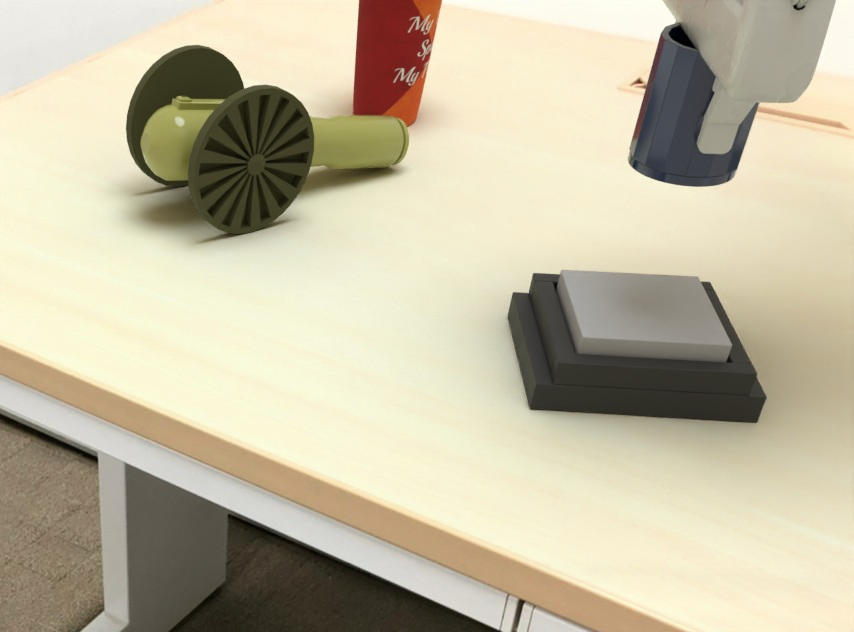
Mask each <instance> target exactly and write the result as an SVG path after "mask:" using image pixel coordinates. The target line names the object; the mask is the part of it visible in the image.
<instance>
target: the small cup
mask: <svg viewBox="0 0 854 632" xmlns="http://www.w3.org/2000/svg"><path fill="white" fill-rule="evenodd" d="M715 77H716V76H715V75H714V74H713V72H712V71H711V69H710V68H709V66H708V65H707V64H706V62H705V61H704V59H703V58H702V56H701V55H700V52H699V50H697V49H696V48H695V46H694V45H693V43H692V42H691V41H690V39H689V38H688V36H687V35H686V33H685V32H684V31H683V29H682V28H681V25H680V23H679V22H678V23H675V22H674V23H672V24H669V25H666V26H665V27H664V28H663V29H662V31H661V32H660V34H659V38H658V42H657V45H656V49H655V54H654V57H653V60H652V64H651V68H650V71H649V75H648V78H647V83H646V86H645V91H644V93H643V97H642V99H641V100H642V101H641V104H640V108H639V112H638V115H637V119H636V122H635V126H634V130H633V134H632V138H631V141H630V145H629V152H628V155H627V162H628V165H629V166H630V167H631V168H632V169H633V170H634V171H636V172H637V173H639V174H640V175H642V176H644V177H647V178H649V179H652V180H655V181H658V182H660V183H666V184H670V185H673V186H674V185H675V186H681V187H690V188H691V187H692V188H695V187H696V188H705V187H715V186H720V185H724V184H727V183H728V182H730V181H732V180H733V179H734V178H735V177H736V175H737V173H738V172H737V171H738V169H739V166H740V164H741V161H742V158H743V155H744V152H745V149H746V146H747V143H748V140H749V137H750V135H751V132H752V128H753V125H754V122H755V119H756V117H757V113H758V111H759V108H760V104H761V103H759V102H756V104H755V105H754V106H753V108H752V109H751V110H750V112H749V113H748V114H747V116H746V117H745V118H744V120H743V121H742V123H741V124H739V127H738V130H737V133H736V136H735V139H734V142H733V145H732V148H731V149H730V150H729V151H728V152H727V153H725V154H705V153H702V152H701V151H699V149H698V147H697V145H696V143H695V141H694V138H693V136H694V132H695V130H696V128H697V122H698V119H699V116H700V113H706V111H707V109H708V106H709V104H710V102H711V100H712V98H713V95H714V93H715V92H714V91H713V90H712V87H713V84H714V81H715Z"/></svg>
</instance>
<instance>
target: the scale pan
mask: <svg viewBox="0 0 854 632" xmlns="http://www.w3.org/2000/svg"><path fill="white" fill-rule="evenodd" d="M559 274H560V277H559V281H558V285H557V289H556V294H557V297H558V301H559V304H560V307H561V310H562V314H563V317H564V320H565V323H566V326H567V330H568V333H569V336H570V339H571V343H572V346H573V349H574V352H575V354H585V355H602V356H620V357H638V358H655V359H673V360H691V361H708V362H726V361H727V358H728V356H729V353H730V350H731V347H732V344H731V342H730V340H729V338H728V336H727V334H726V332H725V330H724V328H723V326H722V324H721V322H720V320H719V318H718V316H717V314H716V312H715V310H714V308H713V306H712V304H711V301H710V299H709V297H708V295H707V293H706V291H705V289H704V287H703V285H702V283H701V279H700V278H699V276H696V275H677V274H676V275H675V274H657V273H637V272H635V273H634V272H616V271H600V270H599V271H598V270H597V271H596V270H595V271H594V270H577V269H576V270H575V269H561V270H560V272H559Z"/></svg>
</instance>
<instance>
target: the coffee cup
mask: <svg viewBox="0 0 854 632" xmlns="http://www.w3.org/2000/svg"><path fill="white" fill-rule="evenodd" d="M442 4H443V0H358V8H357V9H358V11H357V14H358V15H357V26H356V43H355V59H354V60H355V62H354V76H353V77H354V79H353V95H352V96H353V97H352V115H390V116H393V117H397V118H400V119H401V120H403V122H404V123H405V124H406V126H407V127H409V126H411V125H413V124H414V123H415V122H416V121H417V118H418V114H419V111H420V110H419V109H420V106H421V101H422V98H423V93H424V89H425V83H426V79H427V74H428V70H429V65H430V62H431V61H430V60H431V56H432V51H433V46H434V41H435V37H436V32H437V27H438V23H439V18H440V13H441V7H442Z"/></svg>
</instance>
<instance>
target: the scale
mask: <svg viewBox="0 0 854 632" xmlns="http://www.w3.org/2000/svg"><path fill="white" fill-rule="evenodd" d="M559 277H560V273H546V272H545V273H541V272H533V273H532V276H531V281H530V285H529V288H528V292H519V291H518V292H517V291H516V292H515V291H512V294H511V298H510V302H509V306H508V307H509V308H508V312H507V319H508V324H509V328H510V330H511V335H512V339H513V343H514V348H515V353H516V357H517V360H518V365H519V368H520V374H521V377H522V382H523V385H524V389H525V393H526V397H527V402H528V406H529V410H530V409H531V410H542V411H543V410H545V411H546V410H547V411H560V412H561V411H562V412H575V413H577V412H578V413H592V414H593V413H594V414H610V415H626V416H627V415H628V416H643V417H644V416H645V417H661V418H675V419H678V418H679V419H693V420H694V419H695V420H709V421H726V422H742V423H758V421H759V419H760V416H761V414H762V411H763V408H764V406H765V404H766V401H767V399H768V396H767V395H766V392H765V391H764V389H763V387H762V385H761V383H760V381H759V379H758V372H757V370H756V368H755V366H754V364H753V363H752V361H751V359H750V357H749V355H748V353H747V351H746V349H745V347H744V345H743V344H742V343H743V342H742V341H741V339H740V337H739V335H738V333H737V331H736V329H735V328H734V325H733V323H732V321H731V320H730V318H729V315H728V314H727V312H726V310H725V308H724V306H723V304H722V302H721V300H720V298H719V296H718V294H717V293H716V290H715V289H714V286H713V284H712V283H711V281H703V280H702V281H701V280H700V281H701V283H702V285H703V287H704V289H705V291H706V293H707V295H708V297H709V299H710V301H711V304H712V306H713V308H714V310H715V312H716V314H717V316H718V318H719V320H720V322H721V324H722V326H723V328H724V330H725V332H726V334H727V336H728V338H729V340H730V342H731V344H732V347H731V350H730V353H729V356H728V358H727V361H726V362H708V361H691V360H673V359H655V358H638V357H620V356H602V355H585V354H575V352H574V349H573V346H572V343H571V339H570V336H569V333H568V330H567V326H566V323H565V320H564V317H563V314H562V310H561V307H560V304H559V301H558V297H557V294H556V289H557V285H558V281H559Z"/></svg>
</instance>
